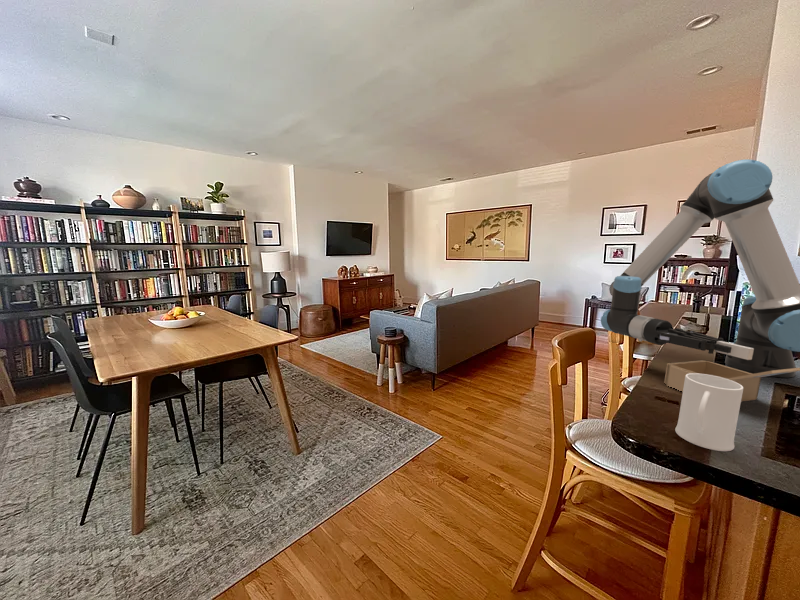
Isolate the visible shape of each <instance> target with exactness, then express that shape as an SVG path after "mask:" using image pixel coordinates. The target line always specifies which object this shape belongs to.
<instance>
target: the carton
mask: <svg viewBox="0 0 800 600" xmlns="http://www.w3.org/2000/svg"><path fill="white" fill-rule="evenodd" d="M689 373H700V374H708V375H713V376H718V377H722V378H726V379H727V378H733V377H738V376H744V375H750V374H752V373H750V372H746V371H743V370H739V369H736V368H733V367H731V366H728V365H724V364H720V363H716V362H712V361H708V360H702V359H701V360H690V361H681V362H680V361H679V362H671V363H670V362H669V363H666V368H665V376H664V381H663V384H664V383H665V384H666V385H665V384H664V385H665V386H666V387H668V386H669V387H668V388H670V387H672V388H671V389H673V388H675V389H677V390H676V391H678V390H679V392H680V391H682V392H681V393H683V388H684V382H685V376H686V374H689ZM732 381H734V382H737V383H739V384H740V385H742V386H743V394H742V399H741V402H749V401H755V400H758V395H759V392H760V391H759V390H760V386H761V381H762V377H758V378H749V379H741V380H732ZM675 389H674V390H675Z"/></svg>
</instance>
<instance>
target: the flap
mask: <svg viewBox="0 0 800 600" xmlns="http://www.w3.org/2000/svg"><path fill="white" fill-rule="evenodd" d="M795 371H796V372H800V367H796V368H792V369H782V370H773V371H767V372H761V373H751V374H750V375H744V376H738V377H733V378H727V379H729V380H741V379H749V378H758V377H761V378H764V377H765V378H766V377H772V376H771V375H777V374H784V373H789V372H795Z"/></svg>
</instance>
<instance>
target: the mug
mask: <svg viewBox="0 0 800 600" xmlns="http://www.w3.org/2000/svg"><path fill="white" fill-rule="evenodd" d="M742 394H743V386H742V385H740V384H739V383H737V382H734V381H732V380H729V379H726V378H722V377H718V376H713V375H708V374H700V373H689V374H686V376H685V382H684V388H683V392H682V396H681V401H680V407H679V415H678V420H677V423H676V424H677V425H676V427H675V429H674V430H675V433H676V434H677V436H679V437H680V438H682V439H684V440H685V441H687V442H689V443H690V444H693V445H696V446H697V447H701V448H704V449H709V450H711V451H716V452H717V451H718V452H730V451H733V450H734V449H735V438H736V437H735V435H736V431H737V430H736V429H737V426H738V420H739V414H740V410H741V409H740V408H741V404H742V401H741V399H742Z"/></svg>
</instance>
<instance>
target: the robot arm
mask: <svg viewBox="0 0 800 600" xmlns="http://www.w3.org/2000/svg"><path fill="white" fill-rule="evenodd" d="M773 179H774V177H773V172H772V170H771V168H770V167H769V166H768V164H765V163H763V162H761V160H760V161H759V160H755V159H748V158H747V159H740V160H739V159H738V160H733V161H731V162H729V163H725V164H724V165H722V166H720V167H718V168H717V169H715V170H714V171H713V172H712V173H710V174H708V175H707V176H705V177H704V178H703V179H702V180H701V181H700V182H699V183H698V185H696V187H695V188H694V190H693V191H692V193H691V194H690V195H689V196H688V197H687V198H686V199H685V201H684V202H683V203H682V204H681V205H680V206H679V209H680V210H679V212H678V213H677V214H676V216H675V217H674V218H673V219H672V220H671V221H669V223H668V224H667V225H666V227H664V228H663V230H662V231H660V233H659V234H658V235H657V236H656V237H655V238H654V239H653V240H652V241H651V242H650V243H649V245H647V247H645V248H644V250H643V251H642V252H641V253H640V254H639V255H638V256H637V257H636V258H635V259H634V260H633V262H631V264H629V266H627V268H626V269H625V270H624V271H623V272H622V273H621V274H620V275H617V276H615V277H614V279H613V281H612V282H611V284H609V285H610V286H609V289H608V290H609V293H610V295H611V304H610V309H608V310H607V309H606V310H605V311H604V312H603V313H602V316H601V317H600V324H601V326H602V327H603V329H605V330H607V331H609V332H612V333H614V334H617V335H622V336H626V337H630V338H634V339H637V340H638V341H639V342H642V341H644V342H648V343H650V344H654V345H658V346H663V345H666V344H672V345H676V346H680V347H686V348H690V349H695V350H699V351H702V352H704V351H708V352H707V353H708V354H710V355H711V354H712V355H714V352H715V353H720V354H723V355H726V356H725V360H724V363H725V365H726V366H727V367H731V368H734V369H738V370H741V371H745V372H748V373H751V374H755V373H761V372H767V371H773V370H782V369H792V368H797V366H796V363H795V359H794V356H793V352H798V353H799V352H800V282H799V279H798V277H797V275H796V272H795V270H794V267H793V265H792V263H791V260H790V258H789V255H788V253H787V251H786V248H785V246H784V243H783V241H782V239H781V236H780V234H779V231H778V230H777V227H776V225H775V223H774V219H773V217H772V214H771V212H770V211H769V207H770V206H771V205H772V203H773V202H774V197H773V195H772V192H771V190H770V188H771V185H772V183H773ZM714 219H715V220H717V221H721V222H722V223H724V224H725V226H726V228H727V231H728V233H729V236H730V238H731V240H732V243H733V245H734V247H735V250H736V253H737V255H738V258H739V260H740V263H741V265H742V267H743V270H744V272H745V275H746V277H747V280H748V282H749V284H750V287H751V290H752V292H753V295H754V296H748V297H746V298H745V299H744V300H743V302H742V305H741V312H740V313H741V314H740V318H739V323H738V324H739V325H738V330H737V333H736V334H737V336H736V340H735V343H731V342H727V341H725V339H724V338H723V337H715V336H711V335H707V334H703V333H700V332H697V331H695V330H690V331H688V330H684V329H683V328H679V327H678V328H677V327H675V328H674V327H673V325H672V323H671V322H670V321H668V320H666V319H665V320H664V319H662V318H661V319H660V318H655V317H651V316H645V315H641V314H638V311H639V304H640V297H641V291H642V288H643V286H644V285H645V284H646V283H647V282H648V280H650V279H651V278H652V277H653V276H654V275H655V273H657V271H659V269H660V268H661V267H663V265H665V264H666V263H667V262H668V261H669V260H670V258H672V257H673V256H674V255H675V254H676V252H677V251H679V249H681V248H682V247H683V246H684V245H685V244H686V243H687V241H688V240H689V239H690V238H691V237H692V236H694V234H695V233H697V231H698V230H700V228H701V227H702V226H703V225H704V224H708V223H711V222H712V221H713V220H714ZM796 372H797V371H795V372H789V373H784V374H777V375H771V376H770V377H773V378H774V377H775V378H788V379H790V378H794V377H796Z"/></svg>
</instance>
